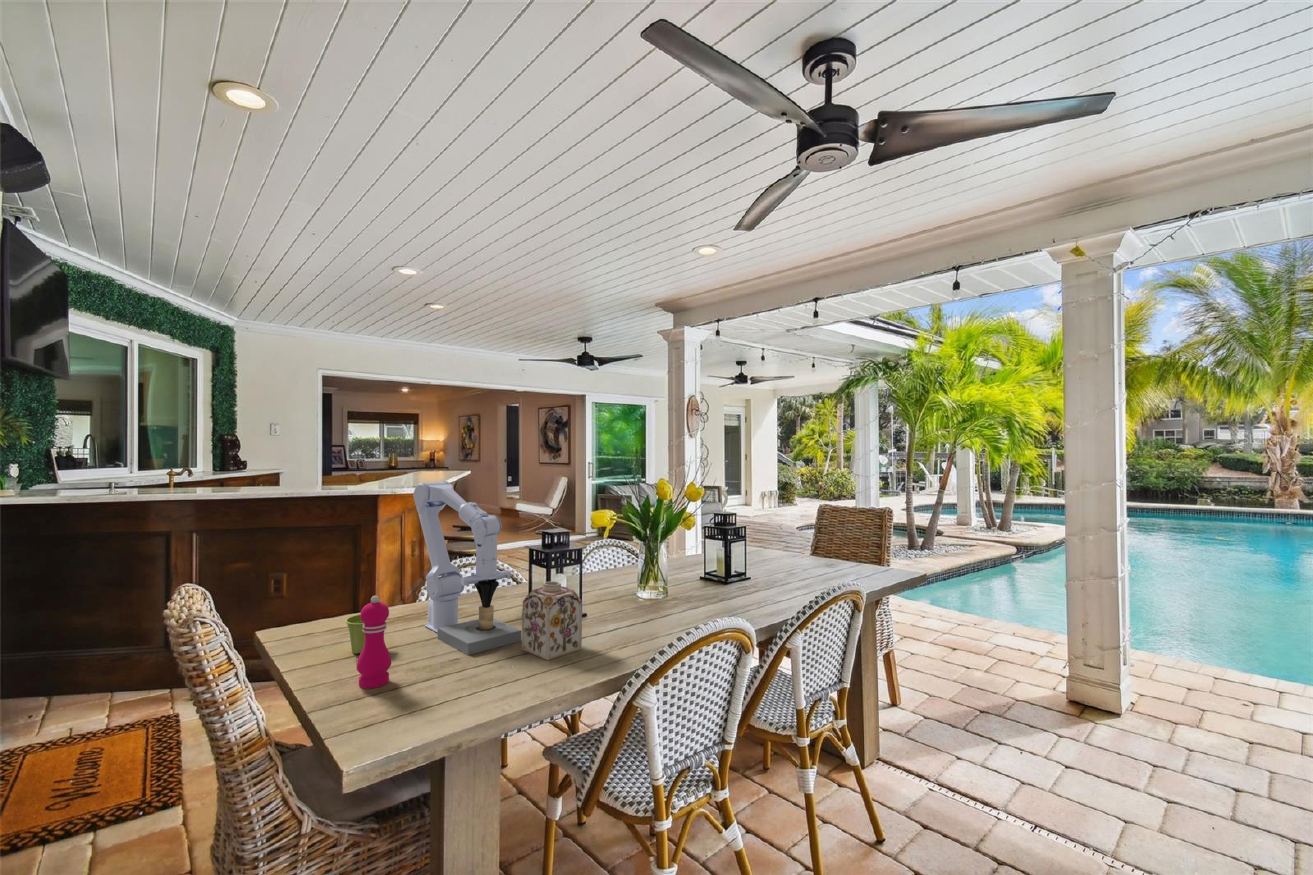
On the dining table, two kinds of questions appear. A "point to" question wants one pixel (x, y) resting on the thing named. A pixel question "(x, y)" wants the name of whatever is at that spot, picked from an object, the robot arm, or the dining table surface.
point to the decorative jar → (552, 621)
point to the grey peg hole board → (478, 636)
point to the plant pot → (356, 633)
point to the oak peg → (486, 618)
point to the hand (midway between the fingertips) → (486, 607)
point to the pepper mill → (374, 646)
